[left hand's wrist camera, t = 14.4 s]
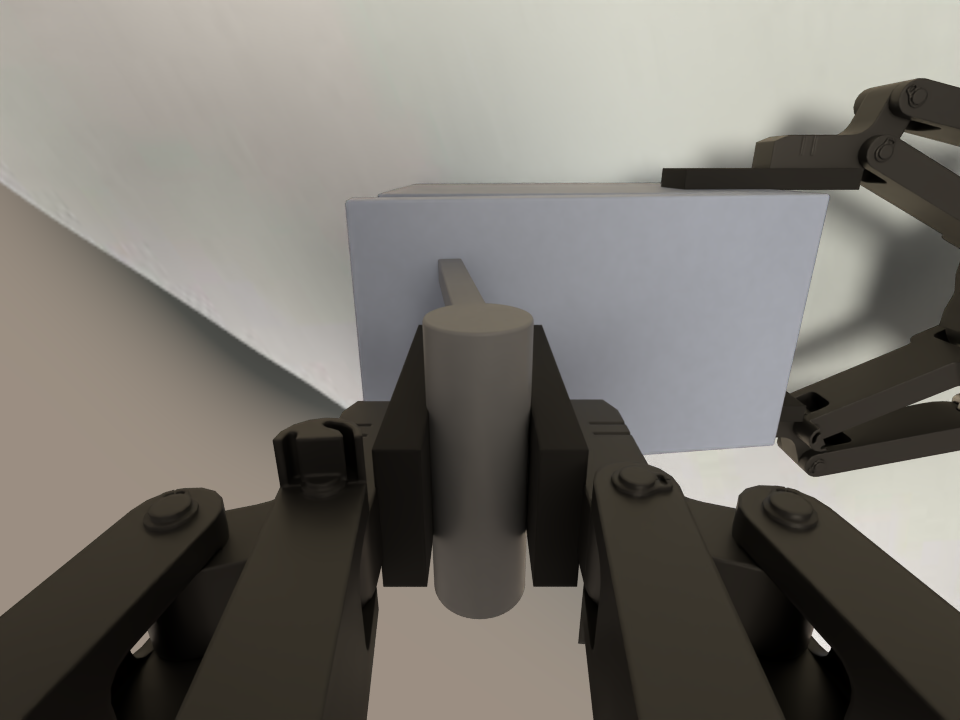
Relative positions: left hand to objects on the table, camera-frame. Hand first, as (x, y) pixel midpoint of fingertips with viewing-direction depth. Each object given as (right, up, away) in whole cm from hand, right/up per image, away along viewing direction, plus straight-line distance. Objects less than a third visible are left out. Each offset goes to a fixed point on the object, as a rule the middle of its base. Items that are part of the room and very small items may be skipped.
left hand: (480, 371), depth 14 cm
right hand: (+8, +3, +8) cm, 11 cm away
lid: (+4, +1, +4) cm, 5 cm away
